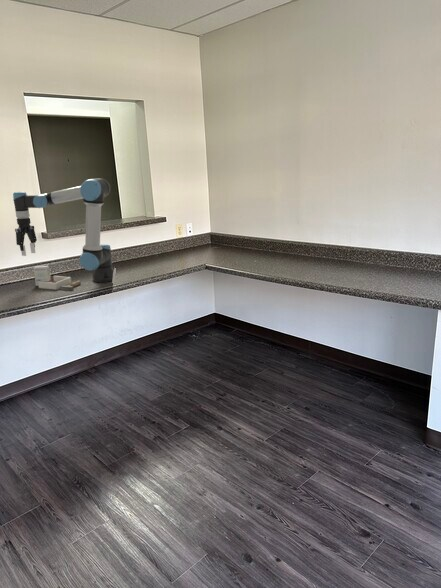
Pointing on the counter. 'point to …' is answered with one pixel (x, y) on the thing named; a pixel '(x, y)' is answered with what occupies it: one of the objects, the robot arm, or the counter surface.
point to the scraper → (70, 286)
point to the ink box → (42, 274)
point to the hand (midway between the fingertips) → (28, 254)
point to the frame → (59, 282)
